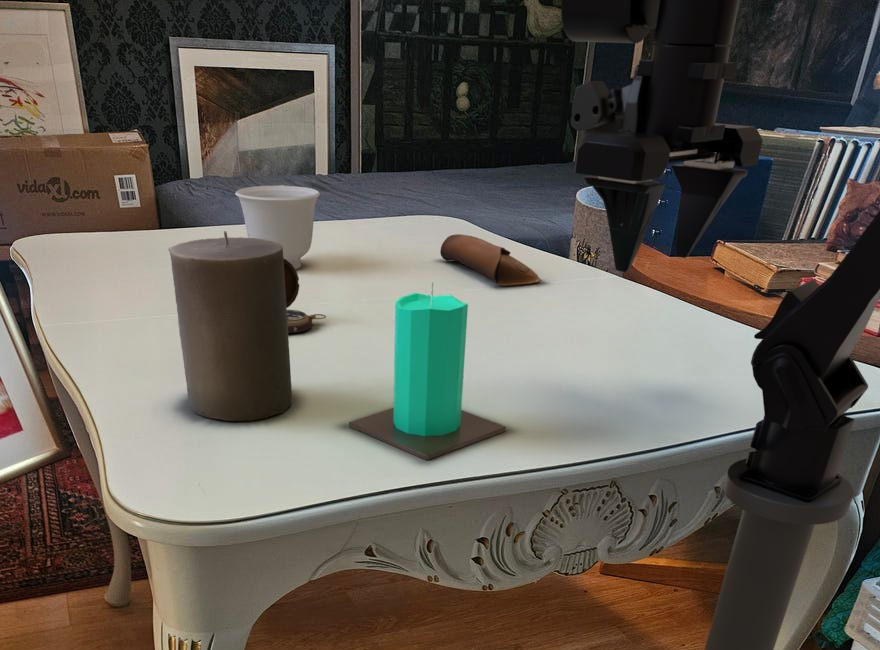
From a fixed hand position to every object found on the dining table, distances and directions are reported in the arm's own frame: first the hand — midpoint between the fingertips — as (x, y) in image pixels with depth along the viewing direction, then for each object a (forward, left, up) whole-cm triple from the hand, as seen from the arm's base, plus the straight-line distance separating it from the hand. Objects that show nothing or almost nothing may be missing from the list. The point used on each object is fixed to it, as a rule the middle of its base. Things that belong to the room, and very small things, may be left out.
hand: (652, 263), depth 75 cm
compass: (+43, +7, -13) cm, 46 cm away
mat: (+9, +18, -13) cm, 24 cm away
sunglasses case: (+47, -33, -13) cm, 59 cm away
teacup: (+70, -12, -13) cm, 72 cm away
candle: (+9, +18, -13) cm, 24 cm away
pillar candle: (+25, +27, -13) cm, 39 cm away
